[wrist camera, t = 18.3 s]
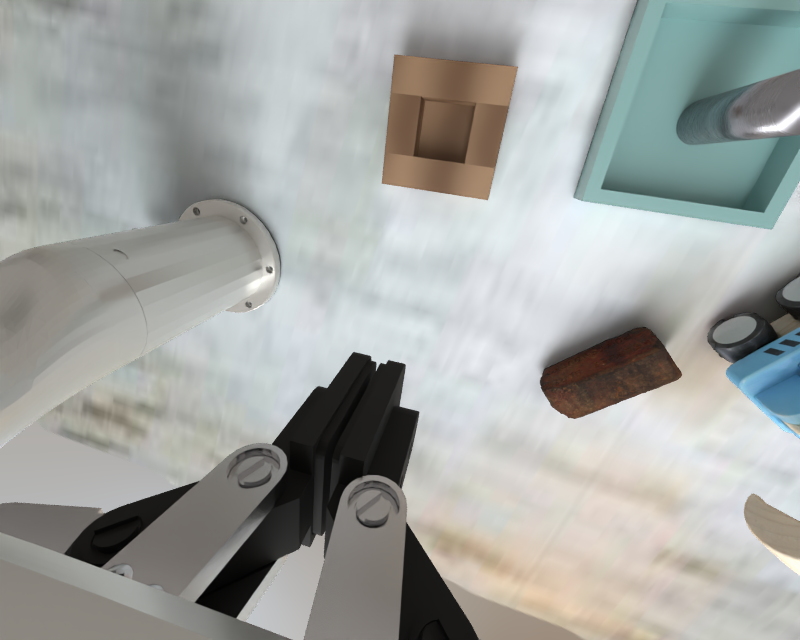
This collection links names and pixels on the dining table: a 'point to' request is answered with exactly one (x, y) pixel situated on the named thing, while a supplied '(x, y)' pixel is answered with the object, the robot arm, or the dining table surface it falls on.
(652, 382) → the brick
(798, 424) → the toy excavator
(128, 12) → the dining table surface
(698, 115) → the pin
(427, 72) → the wooden square frame
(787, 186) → the tray
